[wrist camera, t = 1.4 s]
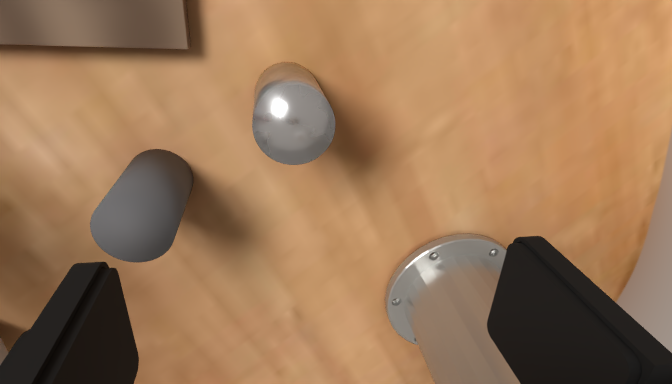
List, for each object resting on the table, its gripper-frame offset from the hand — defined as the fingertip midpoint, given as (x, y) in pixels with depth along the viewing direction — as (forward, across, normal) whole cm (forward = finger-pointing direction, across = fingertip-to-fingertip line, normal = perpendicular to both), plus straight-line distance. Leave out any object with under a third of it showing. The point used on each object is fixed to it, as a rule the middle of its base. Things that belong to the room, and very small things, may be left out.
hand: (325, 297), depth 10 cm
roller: (+20, +9, +6) cm, 23 cm away
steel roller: (+20, 0, 0) cm, 20 cm away
